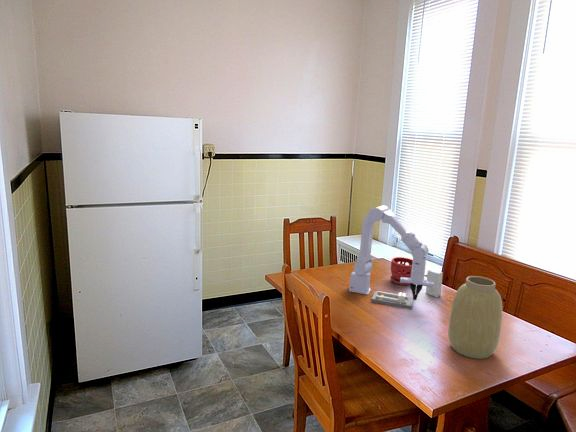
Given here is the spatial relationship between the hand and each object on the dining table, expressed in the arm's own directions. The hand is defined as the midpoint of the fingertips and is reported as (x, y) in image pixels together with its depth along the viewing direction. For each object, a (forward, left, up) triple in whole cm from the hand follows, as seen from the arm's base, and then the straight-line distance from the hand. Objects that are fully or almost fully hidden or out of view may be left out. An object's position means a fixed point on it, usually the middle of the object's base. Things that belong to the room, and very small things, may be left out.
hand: (414, 299), depth 188 cm
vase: (+23, -31, -3) cm, 39 cm away
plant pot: (-9, +28, -3) cm, 30 cm away
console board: (-10, 0, -3) cm, 10 cm away
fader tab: (-6, 0, -1) cm, 6 cm away
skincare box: (+7, +18, -3) cm, 20 cm away
